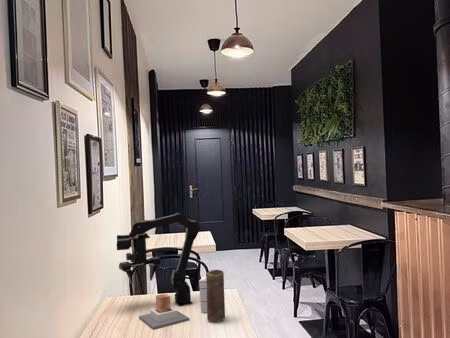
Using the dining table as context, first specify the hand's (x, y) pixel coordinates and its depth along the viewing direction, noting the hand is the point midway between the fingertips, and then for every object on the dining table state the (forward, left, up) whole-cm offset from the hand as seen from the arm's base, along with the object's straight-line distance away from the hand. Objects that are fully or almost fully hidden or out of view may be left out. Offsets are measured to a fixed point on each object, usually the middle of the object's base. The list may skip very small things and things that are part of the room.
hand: (141, 282), depth 190 cm
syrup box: (-22, +23, -12) cm, 34 cm away
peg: (-2, +20, -11) cm, 23 cm away
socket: (-2, +20, -12) cm, 23 cm away
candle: (-19, +35, -12) cm, 42 cm away
